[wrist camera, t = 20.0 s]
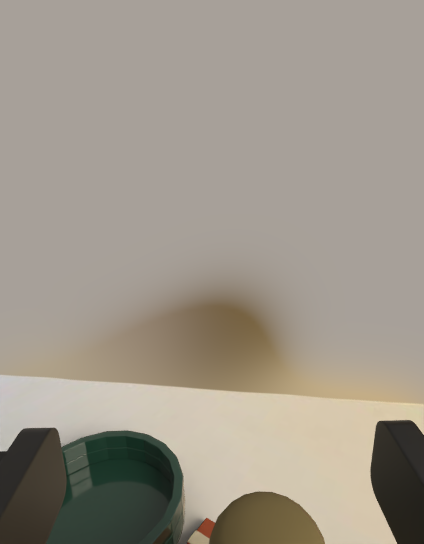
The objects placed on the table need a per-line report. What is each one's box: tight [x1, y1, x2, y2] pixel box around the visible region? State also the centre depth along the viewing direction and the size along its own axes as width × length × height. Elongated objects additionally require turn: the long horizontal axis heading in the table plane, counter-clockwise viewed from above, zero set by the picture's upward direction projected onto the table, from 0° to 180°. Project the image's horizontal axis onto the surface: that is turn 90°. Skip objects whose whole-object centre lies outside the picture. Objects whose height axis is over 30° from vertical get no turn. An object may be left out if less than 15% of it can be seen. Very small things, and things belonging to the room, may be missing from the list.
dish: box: [46, 431, 185, 544], centre depth 29 cm, size 13×13×3 cm
